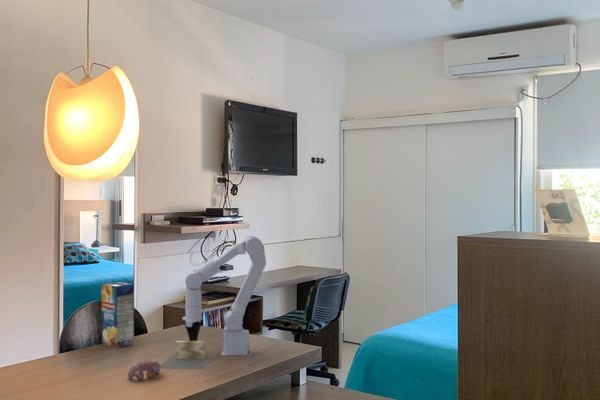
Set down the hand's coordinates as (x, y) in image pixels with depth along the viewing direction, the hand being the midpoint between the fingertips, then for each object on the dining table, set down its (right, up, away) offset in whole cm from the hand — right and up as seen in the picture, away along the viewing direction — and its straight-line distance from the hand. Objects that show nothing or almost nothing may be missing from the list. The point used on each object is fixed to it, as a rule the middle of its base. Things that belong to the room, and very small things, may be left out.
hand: (193, 342), depth 210 cm
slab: (0, -4, -5) cm, 7 cm away
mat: (0, -5, -9) cm, 11 cm away
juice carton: (-34, -6, +19) cm, 39 cm away
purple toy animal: (-11, -5, -27) cm, 29 cm away
